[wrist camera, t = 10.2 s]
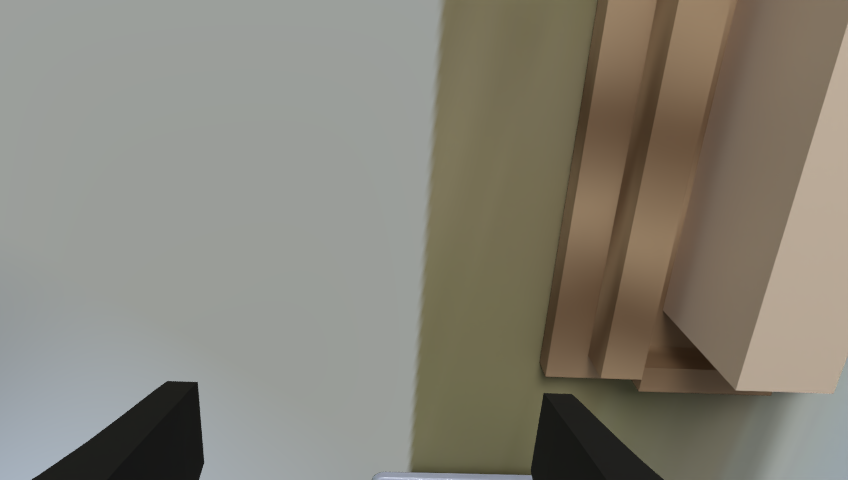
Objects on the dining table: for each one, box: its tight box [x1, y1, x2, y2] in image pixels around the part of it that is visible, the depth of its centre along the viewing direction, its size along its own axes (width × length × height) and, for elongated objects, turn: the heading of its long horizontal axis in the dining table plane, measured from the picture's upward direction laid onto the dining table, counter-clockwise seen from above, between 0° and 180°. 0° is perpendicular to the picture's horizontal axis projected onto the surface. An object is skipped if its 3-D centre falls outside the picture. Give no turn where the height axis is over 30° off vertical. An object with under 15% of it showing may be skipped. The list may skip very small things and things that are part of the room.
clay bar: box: [663, 0, 848, 394], centre depth 17 cm, size 12×3×5 cm, turn 176°
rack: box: [540, 0, 772, 396], centre depth 19 cm, size 18×11×2 cm, turn 176°
